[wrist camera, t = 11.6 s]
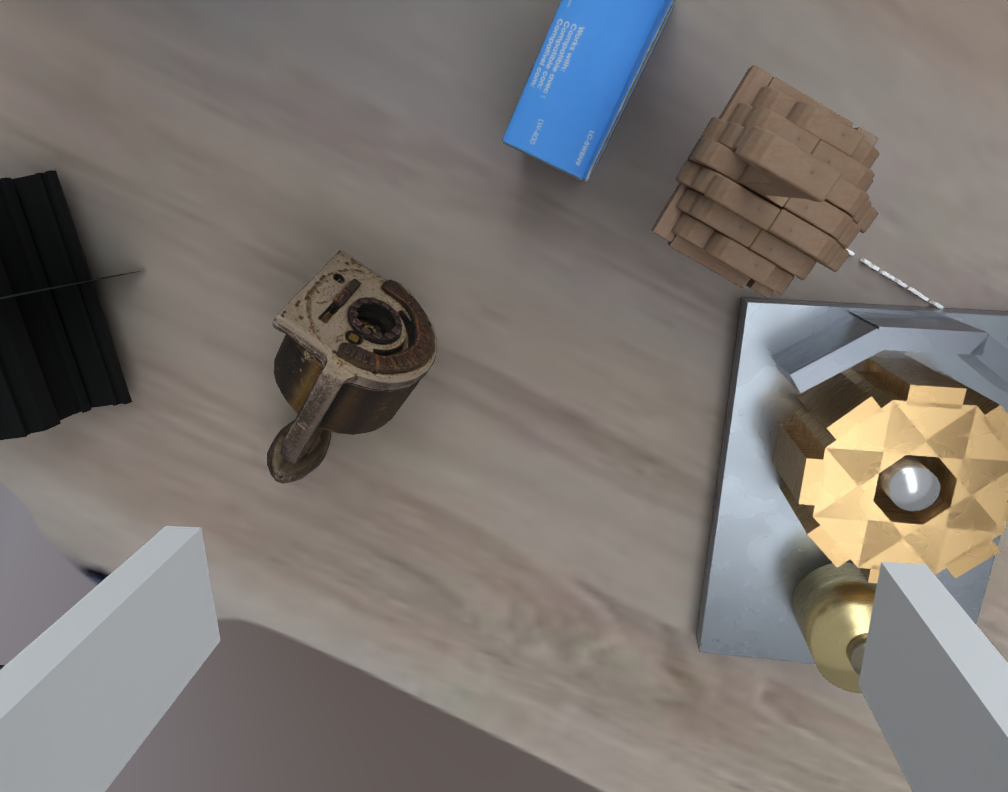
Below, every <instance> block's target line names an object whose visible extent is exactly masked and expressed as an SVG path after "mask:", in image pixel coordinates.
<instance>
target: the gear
mask: <svg viewBox="0 0 1008 792" xmlns="http://www.w3.org/2000/svg"><path fill="white" fill-rule="evenodd" d="M795 395H796V396H797V397H798V399H799V400H800V401H801V402H802V403H803V404H804V405H803V406H801V407H800V408H799V409H797V410H796V411H795V412H794V417H793V422H784V421H778V426H777V432H776V438H775V445H774V451H773V457H772V462H773V464H774V466H775V467H776V469H777V470H778V472H779V474H780V475H781V477H782V478H783V480H784V482H785V483H786V484H785V485H783V486H782V487H780V490H781V491H782V493H783V495H784V496H785V498H786V500H787V501H788V503H789V505H790V506H791V508H792V510H793V511H794V513H795V515H796V516H797V518H798V520H799V521H800V523H801V525H802V526H803V528H804V530H805V531H806V533H807V534H808V536H809V537H810V538H811V539H812V540H813V541H814V542H815V543H816V545H817V546H818V547H819V548H820V549H821V550H822V551H823V552H824V554H825V555H826V556H827V557H828V558H829V559H830V560H831V561H832V563H833V564H834V565H835V566H836V567H837V568H838V567H839V566H841V565H842V564H844V563H845V562H847V561H848V560H850V559H851V560H852V562H853V563H854V564H855V565H856V566H857V567H858V569H859V570H860V572H861V573H862V574H863V576H864V577H865V579H866V580H867V582H869V583H877V582H878V577H879V571H880V566H881V562H894V563H914V564H926V565H927V566H928V567H929V569H930V570H931V571H932V572H933V573H934V575H935V574H937V573H939V572H940V571H942V570H944V569H945V568H946V569H947V570H948V571H949V572H950V573H951V574H952V575H953V576H954V577H955V579H956V578H957V577H959V576H961V575H962V574H964V573H966V572H967V571H969V570H971V569H972V568H974V567H976V566H977V565H979V564H981V563H982V562H984V561H986V560H987V559H989V558H990V557H992V556H994V555H995V554H997V553H999V552H1000V551H1001V550H1000V549H999V548H998V547H997V545H996V544H995V543H994V542H993V541H992V540H993V539H994V538H996V537H998V536H999V535H1001V534H1002V533H1004V530H1005V526H1006V523H1007V521H1008V414H1007V412H1006V411H1005V410H1004V409H1003V407H1002V406H1001V405H1000V404H998V403H996V402H994V401H993V400H991V399H989V398H987V397H985V396H984V395H982V394H980V393H978V392H976V391H975V390H973V389H971V388H969V387H967V386H966V385H964V384H962V383H960V382H958V381H957V380H955V379H953V378H951V377H949V376H948V375H946V374H944V373H943V374H940V373H938V372H936V371H934V370H933V369H931V368H929V367H927V366H926V365H924V364H922V363H920V362H918V361H917V360H915V359H902V358H886V357H869V358H867V359H866V361H865V366H864V370H850V371H849V372H848V373H846V374H845V375H843V374H842V373H841V372H840V373H838V374H837V375H835V376H833V377H831V378H829V379H827V380H825V381H823V382H821V383H819V384H817V385H815V386H814V387H812V388H810V389H808V390H806V391H804V392H802V393H800V392H798V393H797V394H795ZM905 455H912V456H913V457H914V458H916V459H917V460H918V461H919V462H920V463H921V464H923V465H924V466H925V467H926V468H927V469H928V470H929V471H931V472H932V473H933V474H934V475H935V476H936V477H937V479H938V480H939V483H940V493H939V495H938V498H937V499H936V500H935V502H934V503H933V504H932V505H930V506H929V507H927V508H925V509H922V510H918V511H907V510H904V509H901V508H900V507H898V506H897V505H896V504H895V503H894V502H893V501H892V500H891V499H890V498H889V497H888V496H887V494H886V493H885V492H884V491H883V490H882V489H881V488H880V487H879V486H878V485H877V481H878V476H879V473H880V472H882V471H883V470H885V469H886V468H888V467H889V466H891V465H892V464H894V463H895V462H897V461H898V460H900V459H901V458H902V457H904V456H905Z"/></svg>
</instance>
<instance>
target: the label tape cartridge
mask: <svg viewBox="0 0 1008 792" xmlns="http://www.w3.org/2000/svg"><path fill="white" fill-rule="evenodd" d="M675 2H676V0H561V2H560V4H559V6H558V9H557V11H556V14H555V16H554V18H553V21H552V23H551V25H550V28H549V30H548V32H547V35H546V37H545V40H544V42H543V44H542V47H541V49H540V51H539V54H538V56H537V58H536V61H535V63H534V65H533V67H532V69H531V72H530V74H529V77H528V80H527V82H526V85H525V87H524V90H523V92H522V95H521V97H520V99H519V102H518V104H517V106H516V109H515V111H514V113H513V116H512V118H511V121H510V123H509V126H508V128H507V130H506V132H505V134H504V136H503V138H502V141H503V143H505V144H506V145H508V146H510V147H512V148H514V149H516V150H518V151H521V152H523V153H525V154H527V155H529V156H531V157H533V158H535V159H537V160H539V161H541V162H543V163H545V164H547V165H549V166H551V167H553V168H555V169H557V170H559V171H561V172H563V173H565V174H567V175H569V176H571V177H573V178H575V179H577V180H583V179H584V180H585V181H588V179H589V177H590V176H591V174H592V172H593V170H594V169H595V167H596V165H597V163H598V161H599V159H600V158H601V156H602V154H603V152H604V150H605V148H606V146H607V144H608V142H609V140H610V138H611V136H612V134H613V131H614V129H615V127H616V125H617V123H618V121H619V119H620V117H621V115H622V113H623V111H624V109H625V107H626V105H627V103H628V101H629V99H630V97H631V95H632V92H633V90H634V88H635V86H636V84H637V82H638V80H639V78H640V76H641V74H642V72H643V70H644V68H645V66H646V63H647V61H648V59H649V57H650V55H651V53H652V51H653V49H654V47H655V44H656V42H657V40H658V38H659V36H660V34H661V32H662V30H663V28H664V25H665V23H666V21H667V19H668V17H669V15H670V13H671V10H672V8H673V6H674V4H675Z"/></svg>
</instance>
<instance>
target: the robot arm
mask: <svg viewBox="0 0 1008 792" xmlns="http://www.w3.org/2000/svg"><path fill="white" fill-rule="evenodd" d="M219 642H220V635H219V629H218V623H217V617H216V611H215V606H214V600H213V594H212V588H211V582H210V576H209V570H208V564H207V558H206V552H205V547H204V541H203V535H202V529H201V527H181V526H165V527H164V528H163V529H162V530H160V531H159V532H158V533H157V534H156V535H155V536H154V537H152V538H151V539H150V540H149V541H148V542H147V543H146V544H144V545H143V546H142V547H141V548H140V549H139V550H137V551H136V552H135V553H134V554H133V555H132V556H131V557H129V558H128V559H127V560H126V561H125V562H124V563H123V564H121V565H120V566H119V567H118V568H117V569H116V570H114V571H113V572H112V573H111V574H110V575H109V576H108V577H106V578H105V579H104V580H103V581H102V582H101V583H100V584H98V585H97V586H96V587H95V588H94V589H93V590H92V591H90V592H89V593H88V594H87V595H86V596H85V597H83V598H82V599H81V600H80V601H79V602H78V603H77V604H75V605H74V606H73V607H72V608H71V609H70V610H69V611H67V612H66V613H65V614H64V615H63V616H62V617H61V618H59V619H58V620H57V621H56V622H55V623H54V624H53V625H51V626H50V627H49V628H48V629H47V630H46V631H44V632H43V633H42V634H41V635H40V636H39V637H37V638H36V640H34V641H33V642H32V643H31V644H29V645H28V646H27V647H26V648H25V649H24V650H23V651H21V652H20V653H19V654H18V655H17V656H16V657H15V658H13V659H12V660H11V661H10V662H9V663H8V664H6V665H0V792H105V791H106V790H107V789H108V787H109V786H110V784H111V783H112V782H113V781H114V779H115V778H116V777H117V775H118V774H119V773H120V771H121V770H122V769H123V768H124V766H125V765H126V764H127V762H128V761H129V760H130V758H131V757H132V756H133V755H134V753H135V752H136V751H137V749H138V748H139V747H140V745H141V744H142V743H143V741H144V740H145V739H146V737H147V736H148V735H149V734H150V732H151V731H152V730H153V728H154V727H155V726H156V724H157V723H158V722H159V720H160V719H161V718H162V716H163V715H164V714H165V712H166V711H167V710H168V709H169V707H170V706H171V705H172V703H173V702H174V701H175V699H176V698H177V697H178V695H179V694H180V693H181V692H182V690H183V689H184V688H185V686H186V685H187V684H188V682H189V681H190V680H191V678H192V677H193V676H194V674H195V673H196V672H197V671H198V669H199V668H200V667H201V665H202V664H203V663H204V661H205V660H206V659H207V658H208V656H209V655H210V653H211V652H212V651H213V650H214V648H215V647H216V646H217V644H218V643H219ZM858 685H859V687H860V689H861V691H862V693H863V695H864V697H865V699H866V701H867V703H868V705H869V707H870V709H871V711H872V713H873V715H874V717H875V719H876V721H877V723H878V725H879V727H880V729H881V730H882V732H883V734H884V736H885V738H886V740H887V742H888V744H889V746H890V748H891V750H892V752H893V754H894V756H895V758H896V760H897V762H898V764H899V766H900V768H901V770H902V772H903V774H904V776H905V778H906V780H907V782H908V783H909V785H910V787H911V789H912V791H913V792H1008V663H1007V662H1006V661H1005V659H1004V658H1003V657H1002V656H1001V654H1000V653H999V652H998V651H997V650H996V648H995V647H994V646H993V645H992V644H991V642H990V641H989V640H988V639H987V638H986V636H985V635H984V634H983V633H982V631H981V630H980V629H979V628H978V627H977V625H976V624H975V623H974V622H973V621H972V619H971V618H970V617H969V616H968V615H967V613H966V612H965V611H964V610H963V608H962V607H961V606H960V605H959V604H958V602H957V601H956V600H955V599H954V598H953V596H952V595H951V594H950V593H949V592H948V590H947V589H946V588H945V587H944V586H943V584H942V583H941V582H940V581H939V579H938V578H937V577H936V576H935V575H934V573H933V572H932V571H931V570H930V569H929V567H928V566H927V565H926V564H914V563H894V562H881V566H880V571H879V577H878V582H877V587H876V593H875V598H874V603H873V609H872V614H871V619H870V625H869V630H868V636H867V641H866V646H865V652H864V657H863V662H862V668H861V673H860V678H859V684H858Z"/></svg>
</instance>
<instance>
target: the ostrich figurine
mask: <svg viewBox="0 0 1008 792" xmlns="http://www.w3.org/2000/svg"><path fill="white" fill-rule="evenodd" d="M852 125H853V123H852V122H850V121H849V120H847V119H845V118H843V117H842V116H840V115H838V114H837V113H835V112H833V111H832V110H830V109H828V108H827V107H825V106H823V105H822V104H820V103H818V102H817V101H815V100H813V99H811V98H810V97H808V96H806V95H805V94H803V93H801V92H800V91H798V90H796V89H795V88H793V87H791V86H790V85H788V84H786V83H784V82H783V81H781V80H779V79H778V78H776V77H773V76H772V75H770V74H769V73H767V72H765V71H764V70H762V69H760V68H758V67H757V66H755V65H753V66H752V67H750V68H749V69H748V71H747V72H746V74H745V76H744V77H743V79H742V81H741V82H740V84H739V85H738V87H737V89H736V90H735V92H734V94H733V95H732V97H731V99H730V100H729V102H728V104H727V105H726V107H725V109H724V110H723V112H722V114H721V115H720V117H719V118H715V117H713V118H712V119H711V120H710V122H709V124H708V125H707V127H706V129H705V130H704V132H703V134H702V135H701V138H700V139H699V140H698V142H697V144H696V145H695V147H694V149H693V150H692V152H691V154H690V155H689V157H688V160H686V162H685V163H684V165H683V167H682V168H681V170H680V172H679V173H678V175H677V177H676V180H677V181H679V182H680V183H679V185H678V186H677V188H676V190H675V191H674V193H673V195H672V196H671V198H670V200H669V201H668V203H667V205H666V206H665V208H664V209H663V211H662V213H661V214H660V216H659V218H658V219H657V221H656V223H655V224H654V226H653V228H652V229H651V231H652V232H654V233H655V234H657V235H659V236H660V237H662V238H664V239H666V240H667V241H669V242H668V245H669V246H670V247H672V248H674V249H676V250H677V251H679V252H681V253H683V254H684V255H686V256H688V257H690V258H691V259H693V260H695V261H696V262H698V263H700V264H702V265H703V266H705V267H707V268H709V269H710V270H712V271H714V272H715V273H717V274H719V275H721V276H722V277H724V278H726V279H728V280H729V281H731V282H733V283H735V284H736V285H738V286H740V287H741V288H743V287H744V286H745V285H746V283H747V282H748V280H749V279H750V278H751V279H750V280H749V282H748V283H747V286H748V287H749V288H751V289H753V290H754V291H756V292H758V293H760V294H761V295H763V296H765V297H766V298H769V297H770V296H771V294H772V293H773V291H775V292H777V293H779V294H783V293H784V291H785V290H786V288H787V287H788V286H789V284H790V283H791V281H792V280H793V278H794V276H796V277H798V278H799V279H801V280H804V279H805V278H806V277H807V275H808V274H809V273H810V271H811V270H812V268H813V267H814V265H815V264H816V261H817V262H818V263H820V264H822V265H823V266H825V267H827V268H829V269H830V270H832V271H834V272H837V271H838V270H839V268H840V267H841V266H842V264H843V263H844V261H845V260H846V259H847V257H848V256H849V255H851V256H853V255H854V254H855V253H854V252H852V251H850V250H847V249H848V247H849V245H850V244H851V242H852V241H853V240H854V238H855V237H856V235H857V234H858V233H859V231H860V232H862V233H864V232H866V230H867V229H868V228H869V226H870V225H871V223H872V222H873V221H874V219H875V218H876V216H877V215H878V212H877V211H876V210H875V209H874V208H873V207H872V206H871V202H870V201H869V200H868V199H869V196H868V194H867V193H866V191H867V190H868V188H869V187H870V185H871V184H872V183H873V178H874V173H873V171H872V170H870V167H871V166H872V164H873V163H874V162H875V160H876V159H877V157H878V156H879V152H878V150H877V149H876V148H875V147H874V144H875V143H876V142H877V140H878V138H877V137H875V136H873V135H872V134H870V133H868V132H867V131H865V130H863V129H862V128H860V127H858V128H853V127H852ZM860 261H861V262H863V263H865V264H866V265H869V267H871V268H872V269H874V270H876V271H879V270H880V268H878V267H877V266H875V265H872V263H871V262H869V261H868V260H866V259H863V258H861V259H860ZM879 273H880V274H883V275H885V276H887V278H890V279H892V281H894V282H897V284H899V285H901V286H902V287H904V288H906V287H907V286H908V285H906V284H905V283H903V282H901V280H899V279H896V278H895V277H894V276H892V275H890V274H888V273H886V272H885V271H883V270H881V271H880V272H879ZM792 274H793V275H794V276H793V275H792ZM907 290H909V291H911V292H913V294H916V295H918V296H919V297H920V298H922V299H924V300H925V301H928V300H929V298H927V297H925V296H924V295H922V294H921V293H920V292H918V291H916V290H915V289H913V288H911V287H908V288H907ZM929 303H930V304H932V305H935V306H937V308H940V309H943V308H944V307H943V306H942V305H940V304H939V303H937V302H935V301H932V300H930V302H929Z"/></svg>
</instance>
